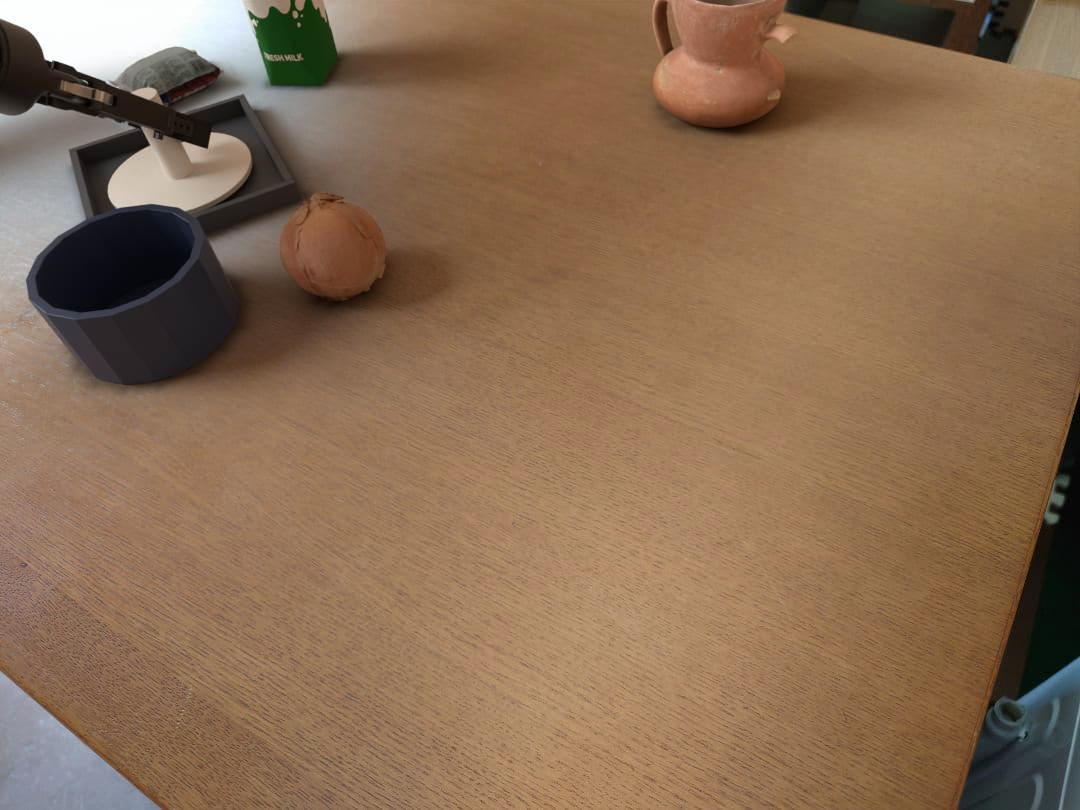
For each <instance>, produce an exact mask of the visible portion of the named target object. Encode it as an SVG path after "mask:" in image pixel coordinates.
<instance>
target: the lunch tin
mask: <svg viewBox="0 0 1080 810" xmlns="http://www.w3.org/2000/svg"><path fill="white" fill-rule="evenodd" d="M25 284H26V290H27V296H28V297H27V298H28V301H29V302H30V303H31V304H32V306H33V307H34V309H35V310H36V311H37V313H39V315H40V316H41V317H42V318H43V320H44V321H45V322H46V324H47V325H48V326H49V327H50V328H51V330H52V331H53V332H54V333H55V335H56V336H57V337H58V338H59V340H60V341H61V342H62V344H63V345H64V346H65V347H66V349H67V350H68V351H69V352H70V354H71V355H72V356H73V357H74V359H75V360H76V361H77V363H79V365H80V366H81V367H83V368H84V369H85V371H87V372H88V373H89V374H90V375H92V376H93V377H94V378H96V379H97V380H101V381H104V382H107V383H110V384H118V385H140V384H141V385H143V384H148V383H154V382H158V381H161V380H164V379H168V378H171V377H173V376H175V375H179V374H180V373H182V372H185V371H187V370H189V369H191V368H192V367H194V366H196V365H197V364H199V363H201V362H202V361H204V360H205V359H206V358H208V357H209V356H210V355H211V354H213V353H214V352H215V351H216V350H217V349H218V348H219V347H220V346H221V345H222V344H223V342H224V341H226V339H227V338H228V336H230V333H231V332H232V330H233V328H234V327H235V326H236V321H237V318H238V314H239V307H240V306H239V305H240V303H239V299H238V296H237V294H236V292H235V290H234V288H233V286H232V283H231V282H230V280H229V277H228V275H227V274H226V272H225V270H224V268H223V265H222V264H221V262H220V260H219V258H218V255H217V254H216V252H215V250H214V248H213V246H212V244H211V242H210V240H209V238H208V236H207V234H205V232H204V230H203V228H202V226H201V224H200V223H199V221H198V219H197V218H195V217H193V216H192V215H190V214H188V213H187V212H185V211H184V210H182V209H180V208H178V207H171V206H164V205H157V204H145V205H137V206H129V207H121V208H117V209H114V210H111V211H109V212H106V213H103V214H100V215H97V216H94V217H91V218H88V219H86V218H85V219H84V220H83V221H81V222H80V223H77V224H75V226H73V227H71V228H69V229H67V230H66V231H64V232H62V233H60V234H59V235H57V236H56V237H55V238H54V239H53V240H51V242H50V243H49V244H48V245H47V246H46V247H45V248H44V249H43V250H41V252H40V253H39V254H38V255H37V256H36V257H35V259H34V262H33V263H32V266H31V268H30V270H29V271H28V274H27V276H26V278H25Z"/></svg>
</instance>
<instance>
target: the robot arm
mask: <svg viewBox="0 0 1080 810" xmlns="http://www.w3.org/2000/svg"><path fill="white" fill-rule="evenodd" d="M36 104H38V105H41V106H45V107H51V108H54V109H56V110H57V109H58V110H61V111H65V112H67V111H73V112H75V113H76V112H77V113H80V114H83V115H87V116H90V117H97V118H98V119H99V118H100V119H110V120H113V121H114V122H116V123H118V124H125V123H127V126H129V127H132V128H138V129H141V130H142V128H141V126H142V127H145V128H148V129H152V130H154V134H153V138H155V139H159V140H163V136H168V137H171V138H174V139H177V140H180V141H181V142H186V143H189V144H193V145H196V146H199V147H202V148H206V149H208V146H209V140H210V135H211V130H212V125H213V124H211V123H208V122H205V121H202V120H199V119H197V118H194V117H191V116H188V115H186V114H183V113H184V112H180V111H177V109H176V108H174V106H170V105H167V106H164V105H161V104H159V103H156V102H153V101H151V100H148V99H145V98H143V97H140V96H137V95H135V94H132V93H130V92H129V91H125V90H121V89H119V87H116V86H114V85H112V84H110V83H107V82H106V81H105V80H104V79H103V80H102V79H100V78H98V77H96V76H95V77H94V76H91V75H89V74H86V73H83V72H80V71H78V70H77V69H76V68H75V67H74V66H72V65H69V64H66V63H64V62H61V61H57V60H53V59H52V60H51V61H50V60H48V59H46V57H45V55H44V51H43V48H42V46H41V44H40V42H39V41H38V39H37V37H35V35H34V34H33V33H32V32H30V31H29V30H28V29H26V28H25V27H22V26H20V25H18V24H16V23H13V22H10V21H7V20H5V19H2V18H0V114H1V115H5V116H10V117H15V116H21V115H23V114H25V113H27V112H28V111H29V110H31V109H32V108H33V107H35V105H36Z"/></svg>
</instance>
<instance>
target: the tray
mask: <svg viewBox="0 0 1080 810" xmlns="http://www.w3.org/2000/svg"><path fill="white" fill-rule="evenodd" d="M182 113H183V114H186V115H188V116H191V117H194V118H197V119H199V120H202V121H205V122H208V123H211V124H213V125H212V130H211V133H221V134H226V135H230V136H233V137H235V138H237V139H239V140H241V141H242V142H243V143H244V144H245V145H246V146H247V147H248V148H249V150H250V153H251V155H252V160H253V165H252V169H251V172H250V174H249V176H248V178H247V179H246V181H245V182H244V183H243V185H242V186H241V187H240V188H239V189H238V190H237V191H235V192H234V193H233V194H232V195H230V196H229V197H227V198H226V199H225V200H223V201H221V202H219V203H218V204H216V205H214V206H212V207H210V208H208V209H205V210H203V211H200V212H197V213H194V214H191V215H192V216H193V217H195V218H197V219H198V221H199V223H200V224H201V226H202V228H203V230H204V232H205V234H206V235H208V234H210V233H213V232H216V231H219V230H221V229H223V228H226V227H230V226H232V225H235V224H238V223H241V222H243V221H246V220H249V219H252V218H255V217H257V216H260V215H262V214H265V213H269V212H271V211H274V210H277V209H279V208H282V207H285V206H288V205H291V204H294V203H296V202H300V201H301V200H302V198H301V195H300V192H299V189H298V187H297V184H296V182H295V180H294V178H293V176H292V175H291V173H290V171H289V170H288V168H287V166H286V164H285V163H284V161H283V159H282V158H281V156H280V154H279V152H278V150H277V149H276V147H275V145H274V143H273V142H272V140H271V138H270V137H269V135H268V133H267V132H266V130H265V128H264V126H263V125H262V123H261V121H260V120H259V118H258V116H257V114H256V113H255V111H254V109H253V108H252V106H251V104H250V102H249V100H248V99H247V98H246V95H245V94H244V93H242V94H239V95H236V96H233V97H229V98H226V99H223V100H220V101H216V102H214V103H210V104H208V105H203V106H201V107H198V108H195V109H192V110H188V111H186V112H182ZM148 146H150V143H149V142H148V140H147V138H146V136H145V134H144V132H143V130H141V129H138V128H135V127H133V128H132V129H127V130H125V131H122V132H118V133H115V134H112V135H109V136H106V137H102V138H99V139H97V140H94V141H90V142H87V143H84V144H81V145H78V146H75V147H72V148H68V153H69V157H70V162H71V166H72V169H73V173H74V178H75V181H76V186H77V189H78V193H79V197H80V201H81V205H82V208H83V213H84V217H85V220H86V219H88V218H91V217H94V216H97V215H100V214H103V213H106V212H109V211H111V210H114V209H116V208H115V207H114V205H113V204H112V202H111V201H110V198H109V196H108V185H109V182H110V179H111V177H112V176H113V174H114V173H115V171H116V170H117V169H118V168H119V167H120V166H121V165H122V164H123V163H124V162H125V161H126V160H127V159H129V158H130V157H131V156H133V155H134V154H136V153H137V152H139V151H141V150H142V149H144V148H146V147H148Z"/></svg>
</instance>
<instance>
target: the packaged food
mask: <svg viewBox="0 0 1080 810" xmlns="http://www.w3.org/2000/svg"><path fill="white" fill-rule="evenodd" d="M221 74H225V70H224V69H221V68H220V66H219V67H218V66H217V65H215V64H213V63H212V62H210V61H208V60H207V59H206V58H203V56H201V55H199V54H198V51H197V50H196V49H188V48H186V47H183V46H170V47H166V48H164V49H162V50H159V51H157V52H154V53H152V54H151V55H148V56H146V57H143V58H141V59H139V60H137V61H135V62H134V63H132V64H131V65H129V66H128V67H126V68H125V69H124V71H123V72H121V73H120V74H119V75H118V77H117V78H116V79H114V80H113V81H112V80H110V79H107V81H108V83H109V84H110V85H112V86H114V87H116V88H118V89H121V90H125V91H129V92H130V93H132V92H133V91H136V90H138V89H142V88H154V89H155V90H156V91H157V93H158V95H159V97H160V99H161V101H162V103H163V105H164V106H170V105H172V104H173V103H175V102H177V101H178V100H182V99H185V98H187V97H189V96H191V95H193V94H195V93H197V92H199V91H201V90H203V89H205V88H206V87H208V86H210V85H211V84H212V83H214V82H215V81H217V80H218V78H219V77H220V75H221Z"/></svg>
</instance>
